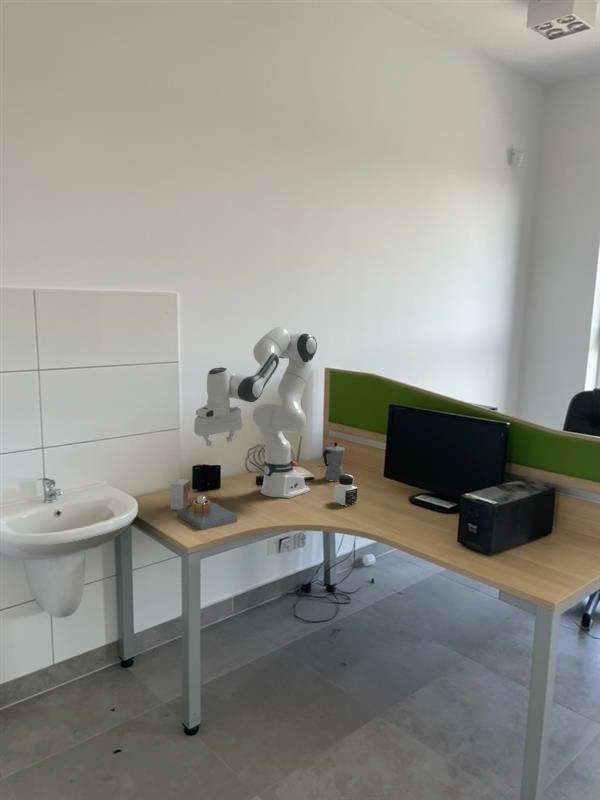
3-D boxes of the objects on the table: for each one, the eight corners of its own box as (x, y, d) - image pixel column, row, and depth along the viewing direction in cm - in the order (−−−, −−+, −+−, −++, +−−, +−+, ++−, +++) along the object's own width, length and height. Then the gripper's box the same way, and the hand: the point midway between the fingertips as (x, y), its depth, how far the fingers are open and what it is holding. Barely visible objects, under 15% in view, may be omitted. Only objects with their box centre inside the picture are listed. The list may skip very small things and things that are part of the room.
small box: (183, 510, 241) (183, 485, 239) (170, 509, 242) (170, 484, 240) (190, 504, 249) (191, 479, 247) (178, 503, 250) (178, 478, 248)
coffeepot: (335, 474, 300) (336, 438, 298) (350, 478, 294) (351, 442, 291) (314, 480, 289) (316, 443, 286) (330, 484, 283) (331, 447, 280)
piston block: (213, 508, 245) (213, 490, 244) (237, 521, 231) (237, 502, 230) (177, 515, 235) (177, 497, 234) (200, 530, 221) (200, 510, 220)
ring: (204, 505, 241) (204, 497, 240) (213, 509, 236) (213, 502, 235) (189, 508, 237) (189, 500, 236) (198, 513, 232) (198, 505, 231)
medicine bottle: (345, 506, 253) (346, 478, 251) (333, 502, 258) (334, 474, 256) (356, 503, 257) (358, 476, 255) (344, 499, 263) (346, 472, 261)
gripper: (236, 404, 246) (236, 437, 249) (191, 411, 234) (192, 446, 236) (245, 407, 242) (245, 441, 244) (200, 414, 229) (200, 449, 232)
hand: (219, 443), depth 240 cm, fingers open, 8 cm apart
